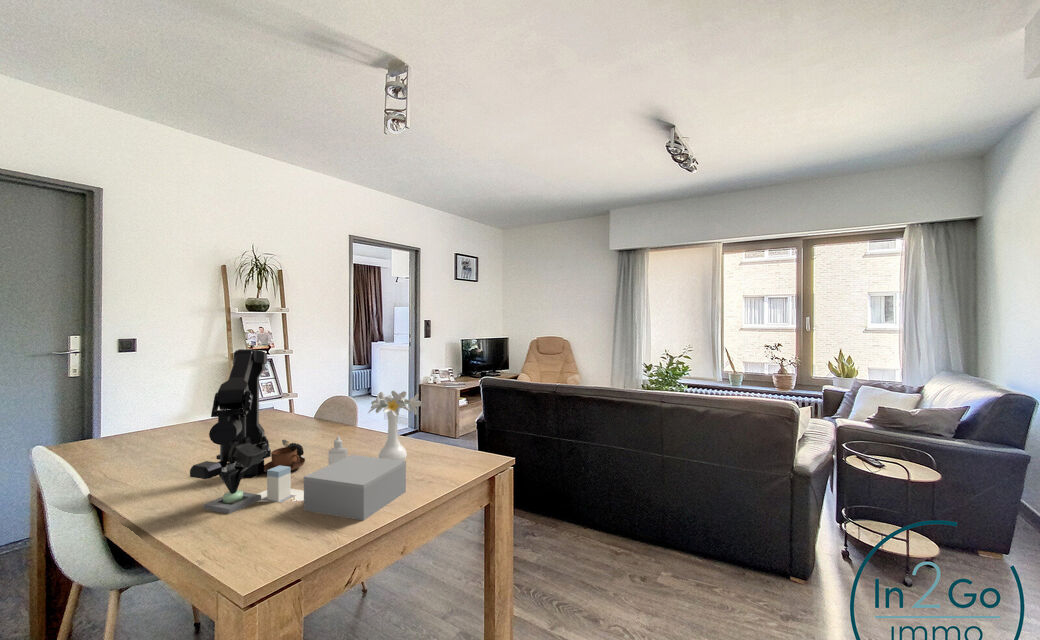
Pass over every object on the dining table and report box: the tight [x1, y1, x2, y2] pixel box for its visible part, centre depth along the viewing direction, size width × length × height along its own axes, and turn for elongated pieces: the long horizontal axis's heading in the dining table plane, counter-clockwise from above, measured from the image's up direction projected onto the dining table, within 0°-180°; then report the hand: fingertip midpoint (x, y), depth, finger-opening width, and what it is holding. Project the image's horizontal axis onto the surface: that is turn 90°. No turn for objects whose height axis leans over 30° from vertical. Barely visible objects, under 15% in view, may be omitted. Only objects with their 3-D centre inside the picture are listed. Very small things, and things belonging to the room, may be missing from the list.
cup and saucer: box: [264, 446, 306, 471], centre depth 140 cm, size 12×12×6 cm
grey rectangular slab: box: [303, 454, 407, 521], centre depth 115 cm, size 18×18×9 cm
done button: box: [222, 489, 244, 504], centre depth 113 cm, size 4×4×2 cm
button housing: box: [203, 491, 261, 515], centre depth 113 cm, size 9×9×2 cm
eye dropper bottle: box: [328, 435, 349, 465], centre depth 137 cm, size 4×6×12 cm
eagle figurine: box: [281, 439, 306, 460], centre depth 144 cm, size 8×7×9 cm
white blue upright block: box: [266, 465, 292, 501], centre depth 117 cm, size 4×4×8 cm
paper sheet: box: [256, 488, 304, 504], centre depth 117 cm, size 16×12×1 cm
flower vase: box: [367, 390, 423, 461], centre depth 145 cm, size 13×18×25 cm
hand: (233, 493), depth 113 cm, fingers closed
